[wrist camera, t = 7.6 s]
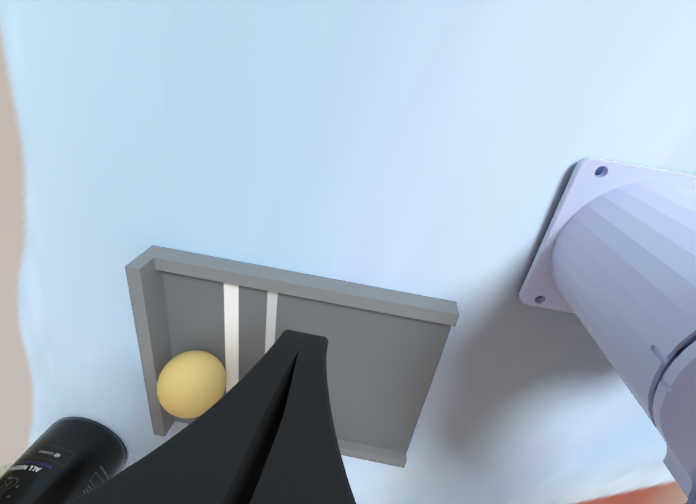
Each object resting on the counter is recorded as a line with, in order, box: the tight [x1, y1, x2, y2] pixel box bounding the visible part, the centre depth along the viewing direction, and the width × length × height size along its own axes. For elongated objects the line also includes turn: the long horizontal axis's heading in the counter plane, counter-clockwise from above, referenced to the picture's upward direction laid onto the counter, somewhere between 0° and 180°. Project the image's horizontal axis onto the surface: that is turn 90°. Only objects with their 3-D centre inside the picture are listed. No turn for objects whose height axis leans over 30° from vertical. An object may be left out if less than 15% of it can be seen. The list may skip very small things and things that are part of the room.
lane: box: [125, 246, 459, 468], centre depth 23 cm, size 18×14×2 cm
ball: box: [157, 350, 227, 418], centre depth 23 cm, size 4×4×4 cm
